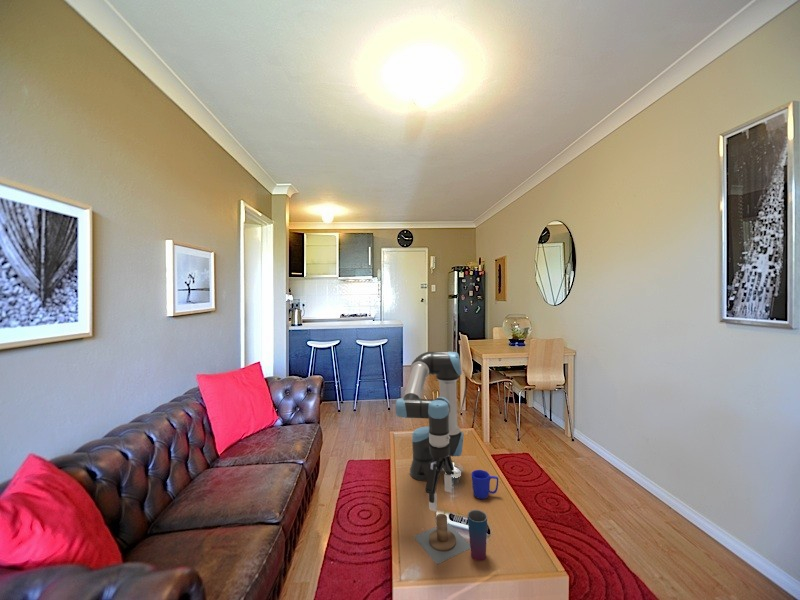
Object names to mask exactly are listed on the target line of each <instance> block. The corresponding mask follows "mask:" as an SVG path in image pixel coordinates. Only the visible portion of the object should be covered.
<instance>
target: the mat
mask: <svg viewBox="0 0 800 600" xmlns="http://www.w3.org/2000/svg"><path fill="white" fill-rule="evenodd" d="M435 530H437V526H435V527H432V528H429V529H427V530H425V531H423V532H421V533H418V534H416V535H413V536H412V537H413V538H414V540H415V541H416V542H417V543H418V544H419V545H420V547H421V548H422V549H423V550H424V551H425V553H426V554H427V555H428V556H429V557H430V559H432V561H433V562H434V563H435V564H436V565H439V564H442V563H443V562H445V561H448V560H449V559H452V558H454V557H455V556H458V555H460V554H462V553H464V552H466V551H468V550H471V548H470V542H469V541H467V539H466V538H464V536H462V535H461V534H460V533H459V532H458V531H457V530H456V529H455V528H454V527H453V526H452V525H451V524H449V525H447V530H448V531H450V532H452V533H453V534H454V535H455V538H456V545H455V547H454V548H453V549H451V550H449V551H438V550H435V549H434V548H432V547H431V546H430V544H429V535H430V534H431V533H432V532H433V531H435Z"/></svg>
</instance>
